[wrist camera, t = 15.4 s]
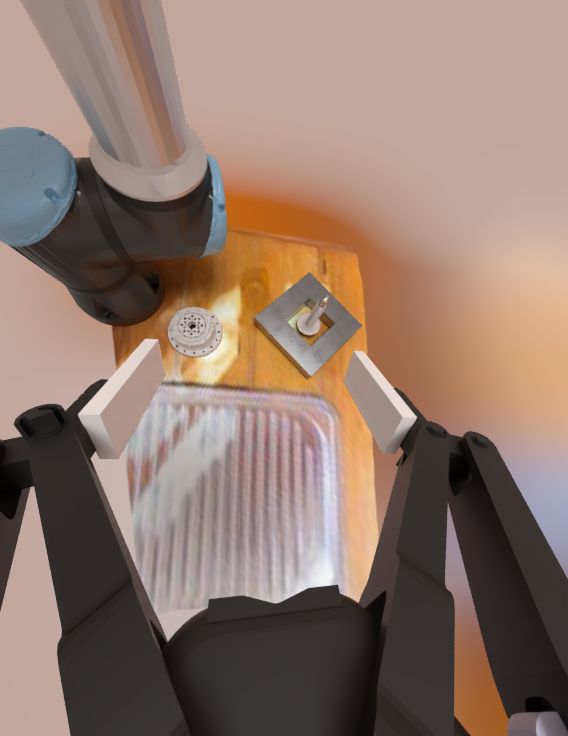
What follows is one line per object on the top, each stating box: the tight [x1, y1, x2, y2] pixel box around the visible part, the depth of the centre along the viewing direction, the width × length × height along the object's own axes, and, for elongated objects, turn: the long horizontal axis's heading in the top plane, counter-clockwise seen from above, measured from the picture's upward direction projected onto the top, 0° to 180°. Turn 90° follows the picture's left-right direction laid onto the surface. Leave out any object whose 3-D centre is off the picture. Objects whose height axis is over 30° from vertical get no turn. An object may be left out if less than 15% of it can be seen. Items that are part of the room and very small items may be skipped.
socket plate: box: [254, 272, 362, 379], centre depth 48 cm, size 16×16×3 cm
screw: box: [297, 295, 329, 335], centre depth 43 cm, size 13×5×5 cm
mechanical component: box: [168, 306, 222, 357], centre depth 44 cm, size 10×4×10 cm
